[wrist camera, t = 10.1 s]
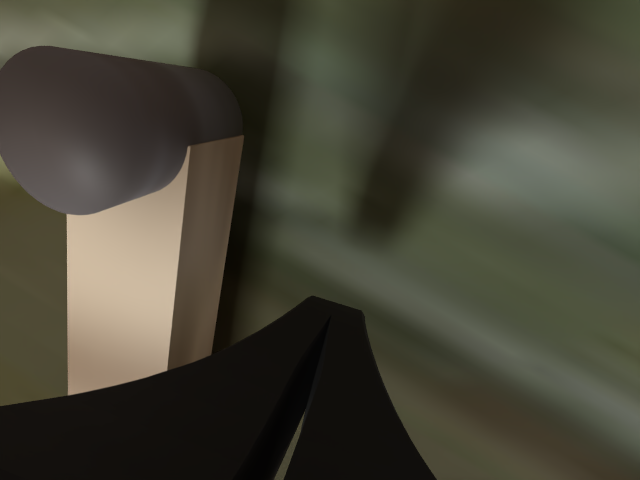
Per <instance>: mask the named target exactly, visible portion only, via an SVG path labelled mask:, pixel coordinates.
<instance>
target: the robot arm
mask: <svg viewBox="0 0 640 480" xmlns="http://www.w3.org/2000/svg"><path fill="white" fill-rule="evenodd" d="M305 409H306V410H305ZM304 412H305V415H304V419H303V424H302V428H301V433H300V436H299V439H298V442H297V445H296V447H295V450H294V453H293V456H292V458H291V461H290V464H289V467H288V469H287V472H286V475H285V477H284V480H437V479H436V478H435V476H434V475H433V473H432V472H431V470H430V469H429V467H428V466H427V465H426V463H425V462H424V460H423V459H422V457H421V456H420V454H419V452H418V451H417V449H416V447H415V446H414V444H413V442H412V440H411V439H410V437H409V435H408V433H407V431H406V430H405V428H404V426H403V424H402V422H401V420H400V418H399V416H398V414H397V412H396V410H395V408H394V406H393V404H392V402H391V400H390V397H389V395H388V393H387V390H386V388H385V386H384V383H383V381H382V378H381V376H380V373H379V370H378V367H377V364H376V361H375V358H374V355H373V353H372V349H371V346H370V342H369V338H368V334H367V330H366V324H365V316H364V314H363V312H362V311H361V310H358V309H354V308H351V307H348V306H345V305H342V304H338V303H335V302H332V301H329V300H325V299H322V298H319V297H316V296H310V297H308V298H306V299H305V300H304V301H303V302H301V303H300V304H299V305H297V306H296V307H295V308H293V309H292V310H290V311H289V312H287V313H286V314H285V315H283V316H282V317H280V318H278V319H277V320H275V321H274V322H272V323H271V324H269V325H267V326H266V327H264V328H263V329H261V330H259V331H258V332H256V333H254V334H252V335H250V336H248V337H246V338H245V339H243V340H241V341H239V342H237V343H235V344H233V345H231V346H229V347H227V348H225V349H223V350H221V351H219V352H217V353H214V354H212V355H210V356H207V357H205V358H202V359H200V360H197V361H195V362H192V363H189V364H186V365H183V366H180V367H177V368H174V369H171V370H167V371H164V372H161V373H158V374H155V375H152V376H149V377H146V378H142V379H138V380H134V381H131V382H127V383H123V384H119V385H115V386H110V387H106V388H101V389H97V390H92V391H88V392H83V393H78V394H73V395H68V396H63V397H56V398H50V399H44V400H37V401H31V402H25V403H18V404H12V405H6V406H0V480H274V478H275V476H276V474H277V471H278V469H279V467H280V465H281V463H282V460H283V458H284V456H285V454H286V451H287V449H288V447H289V445H290V443H291V440H292V438H293V436H294V434H295V432H296V429H297V427H298V425H299V423H300V421H301V418H302V416H303V414H304Z"/></svg>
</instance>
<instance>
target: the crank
mask: <svg viewBox="0 0 640 480" xmlns="http://www.w3.org/2000/svg"><path fill="white" fill-rule="evenodd" d="M242 133H243V120H242V114H241V110H240V107H239V104H238V102H237V99H236V98H235V96H234V94H233V92H232V91H231V90H230V88H229V87H228V86H227V85H226V84H225V83H224V82H223V81H222V80H221V79H220V78H218V77H217V76H215V75H214V74H212V73H210V72H208V71H205V70H202V69H197V68H191V67H184V66H178V65H171V64H165V63H158V62H151V61H145V60H138V59H132V58H125V57H119V56H112V55H105V54H99V53H92V52H86V51H79V50H73V49H66V48H59V47H53V46H36V47H31V48H28V49H25V50H22V51H21V52H19V53H17V54H15V55H14V56H13V57H12V58H10V59H9V60H8V61H7V62H6V64H5V65H4V66H3V67H2V69H1V70H0V154H1V157H2V159H3V161H4V162H5V164H6V166H7V168H8V169H9V171H10V172H11V174H12V175H13V177H14V178H15V179H16V180H17V181H18V183H19V184H20V185H21V186H22V187H23V188H24V189H25V190H26V191H27V192H28V193H29V194H30V195H31V196H33V197H34V198H35V199H36V200H38V201H39V202H41V203H42V204H44V205H46V206H48V207H50V208H52V209H54V210H56V211H59V212H62V213H66V214H67V298H68V395H73V394H78V393H83V392H88V391H92V390H97V389H101V388H106V387H110V386H115V385H119V384H123V383H127V382H131V381H134V380H138V379H142V378H146V377H149V376H152V375H155V374H158V373H161V372H164V371H167V370H171V369H174V368H177V367H180V366H183V365H186V364H189V363H192V362H195V361H197V360H200V359H202V358H205V357H207V356H210V355H211V352H212V346H213V339H214V333H215V326H216V319H217V313H218V306H219V300H220V293H221V286H222V280H223V273H224V266H225V260H226V253H227V247H228V240H229V233H230V227H231V220H232V214H233V207H234V200H235V194H236V187H237V181H238V174H239V167H240V161H241V154H242V148H243V141H244V135H242Z"/></svg>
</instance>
